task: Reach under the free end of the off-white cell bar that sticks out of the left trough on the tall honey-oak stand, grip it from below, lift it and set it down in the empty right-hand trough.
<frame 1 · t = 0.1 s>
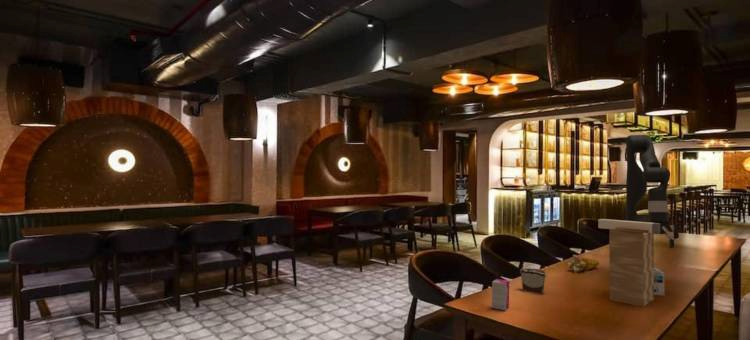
hand: (659, 247, 193), 22 cm above the table, tool pointing down, fingers open, 8 cm apart
stand: (631, 299, 191), on the table
light bulb box: (651, 292, 202), on the table
supplement box: (500, 309, 179), on the table
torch: (585, 271, 247), on the table
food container: (535, 291, 205), on the table
cell bar: (628, 230, 195), point 30 cm above the table, touching stand
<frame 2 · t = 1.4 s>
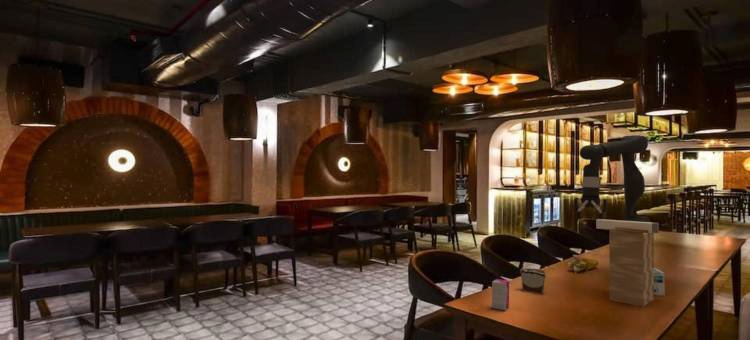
hand: (590, 220, 209), 33 cm above the table, tool pointing down, fingers open, 8 cm apart
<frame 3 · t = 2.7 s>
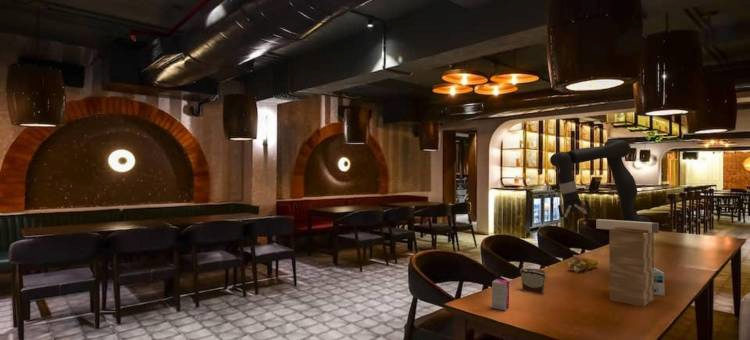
hand: (577, 222, 215), 31 cm above the table, tool pointing down, fingers open, 8 cm apart
nothing on the table moved.
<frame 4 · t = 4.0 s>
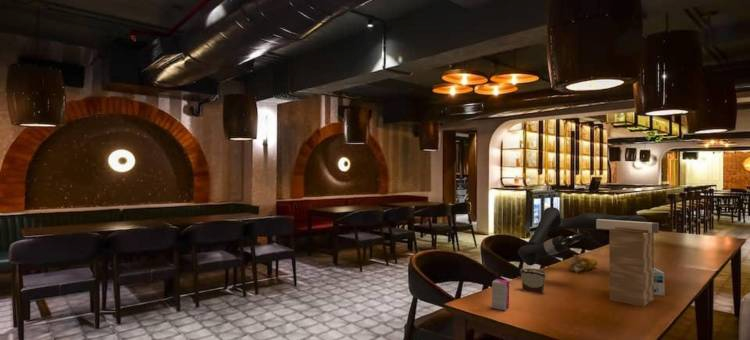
hand: (586, 234, 208), 26 cm above the table, tool pointing upward, fingers open, 8 cm apart
nothing on the table moved.
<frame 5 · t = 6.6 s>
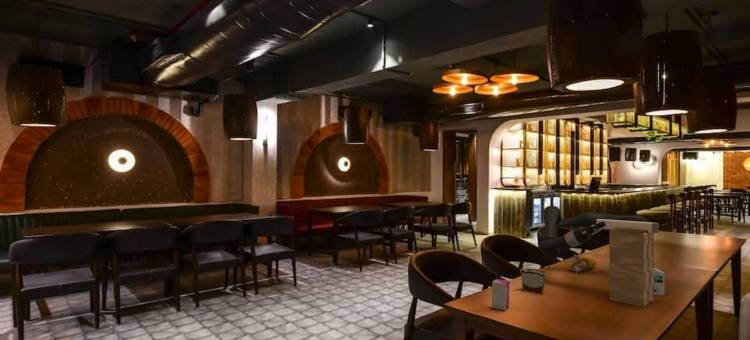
hand: (607, 222, 201), 33 cm above the table, tool pointing upward, fingers open, 8 cm apart
cell bar: (626, 230, 195), point 30 cm above the table, touching gripper, stand
everything else where it was.
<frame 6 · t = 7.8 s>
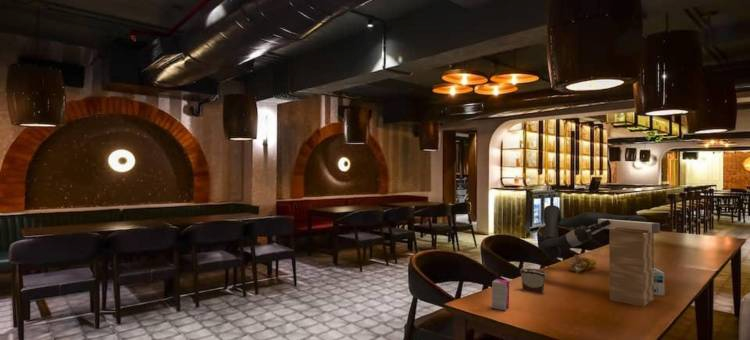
hand: (611, 221, 200), 33 cm above the table, tool pointing upward, fingers closed on cell bar, 4 cm apart
cell bar: (627, 230, 195), point 30 cm above the table, touching gripper, stand
everything else where it was.
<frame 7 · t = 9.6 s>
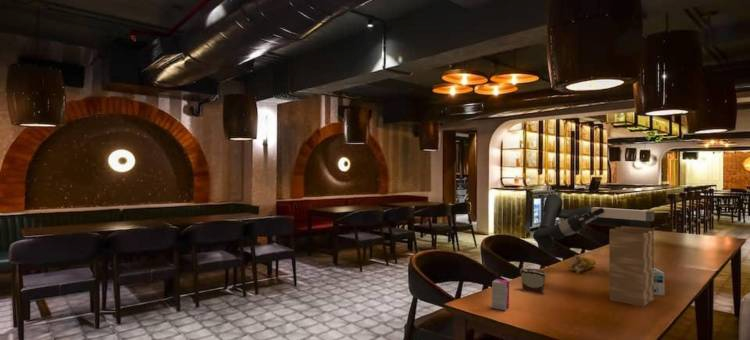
hand: (604, 209, 196), 39 cm above the table, tool pointing upward, fingers closed on cell bar, 4 cm apart
cell bar: (621, 218, 191), point 36 cm above the table, touching gripper
when the fingers open (35 cm above the table, at t = 11.0 s): cell bar drops 1 cm, resting on stand.
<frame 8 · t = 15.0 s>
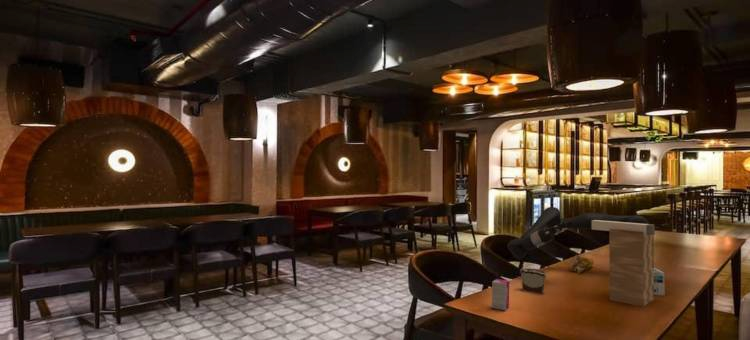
hand: (569, 223, 212), 31 cm above the table, tool pointing upward, fingers open, 8 cm apart
cell bar: (621, 231, 191), point 30 cm above the table, touching stand
at the end: cell bar inside the target area (0.3 cm from its centre), point 30.0 cm above the table; the gripper is holding nothing; cell bar tilted 0° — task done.
